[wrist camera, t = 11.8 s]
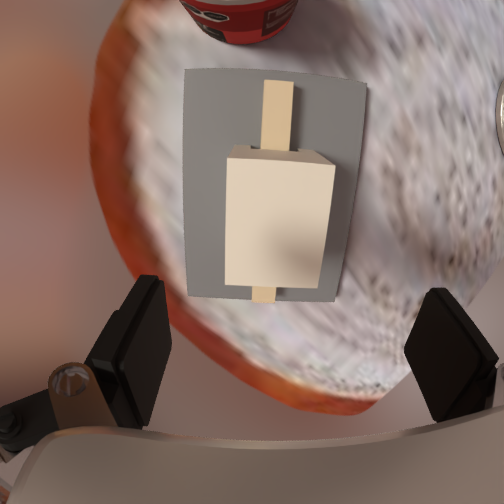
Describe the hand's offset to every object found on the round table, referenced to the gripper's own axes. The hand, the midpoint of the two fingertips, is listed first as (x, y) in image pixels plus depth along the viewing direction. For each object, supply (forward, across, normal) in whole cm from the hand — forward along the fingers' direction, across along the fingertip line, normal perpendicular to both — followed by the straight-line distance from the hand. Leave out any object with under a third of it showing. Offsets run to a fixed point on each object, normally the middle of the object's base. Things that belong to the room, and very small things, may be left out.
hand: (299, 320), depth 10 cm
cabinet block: (+16, 0, 0) cm, 16 cm away
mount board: (+17, 0, 0) cm, 17 cm away
